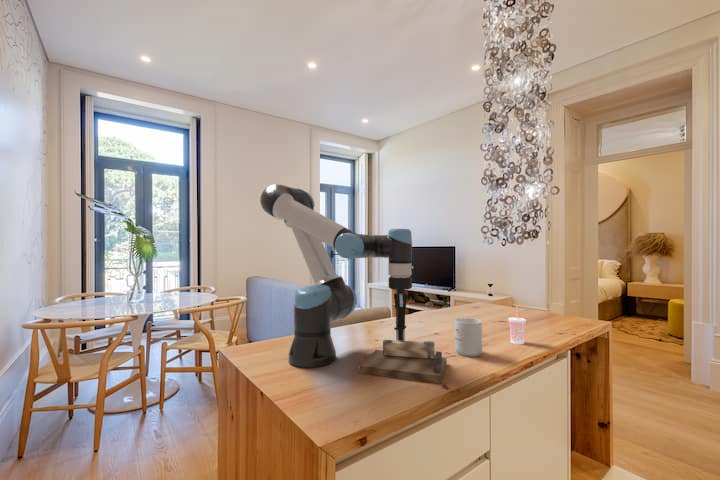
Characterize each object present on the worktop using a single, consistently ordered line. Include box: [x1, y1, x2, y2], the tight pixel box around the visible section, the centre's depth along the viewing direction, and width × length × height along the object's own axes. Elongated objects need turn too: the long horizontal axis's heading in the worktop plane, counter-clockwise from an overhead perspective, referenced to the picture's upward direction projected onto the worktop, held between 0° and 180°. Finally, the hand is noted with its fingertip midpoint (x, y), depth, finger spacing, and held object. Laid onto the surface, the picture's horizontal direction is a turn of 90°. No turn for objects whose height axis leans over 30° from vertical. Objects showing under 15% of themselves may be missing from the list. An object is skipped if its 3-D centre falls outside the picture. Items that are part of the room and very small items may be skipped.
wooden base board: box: [358, 349, 448, 384], centre depth 99 cm, size 23×16×6 cm
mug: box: [453, 317, 483, 358], centre depth 115 cm, size 12×9×11 cm
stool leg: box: [382, 339, 436, 359], centre depth 104 cm, size 16×3×4 cm, turn 77°
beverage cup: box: [507, 305, 527, 345], centre depth 127 cm, size 6×6×14 cm
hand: (400, 349), depth 107 cm, fingers closed
